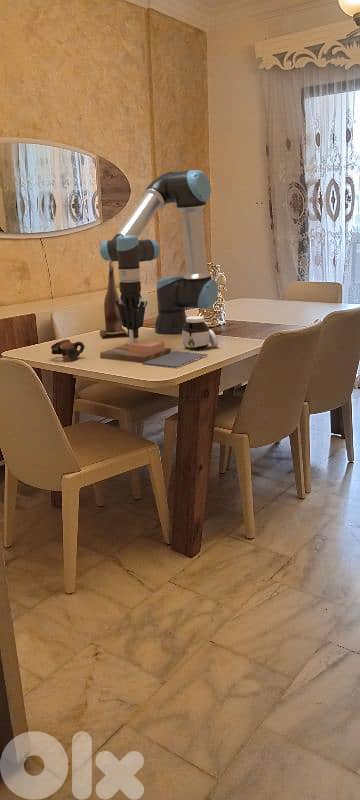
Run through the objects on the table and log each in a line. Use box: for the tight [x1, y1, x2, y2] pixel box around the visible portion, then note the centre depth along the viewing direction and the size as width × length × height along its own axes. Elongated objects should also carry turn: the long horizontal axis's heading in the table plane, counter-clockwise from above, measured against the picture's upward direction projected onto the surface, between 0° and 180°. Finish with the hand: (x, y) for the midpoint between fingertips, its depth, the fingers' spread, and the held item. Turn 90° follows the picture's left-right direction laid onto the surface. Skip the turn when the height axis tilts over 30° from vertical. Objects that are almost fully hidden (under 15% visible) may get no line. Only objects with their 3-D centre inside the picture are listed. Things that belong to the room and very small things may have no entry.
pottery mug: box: [50, 339, 86, 363], centre depth 230 cm, size 12×10×8 cm
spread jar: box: [181, 315, 219, 351], centre depth 238 cm, size 12×11×12 cm
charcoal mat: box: [142, 350, 209, 368], centre depth 221 cm, size 20×14×1 cm
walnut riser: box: [99, 343, 172, 364], centre depth 230 cm, size 16×20×2 cm
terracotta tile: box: [127, 339, 166, 355], centre depth 227 cm, size 8×10×3 cm
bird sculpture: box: [99, 261, 128, 339], centre depth 266 cm, size 11×12×32 cm
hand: (133, 346), depth 230 cm, fingers closed
